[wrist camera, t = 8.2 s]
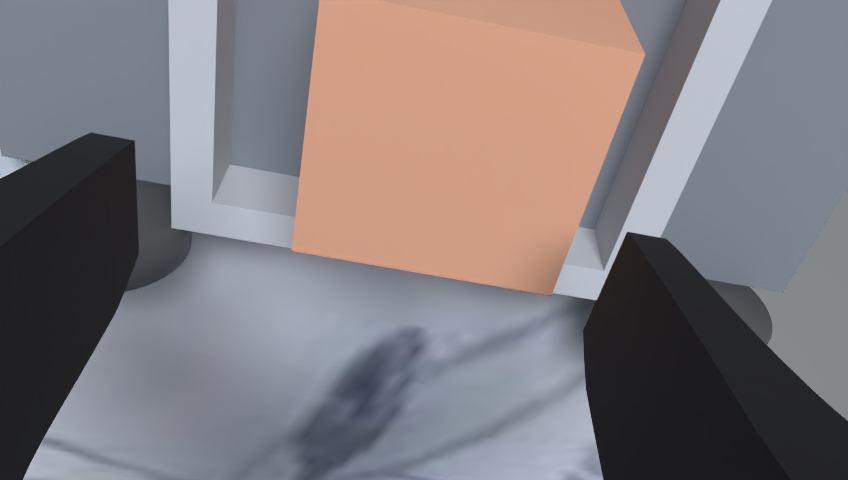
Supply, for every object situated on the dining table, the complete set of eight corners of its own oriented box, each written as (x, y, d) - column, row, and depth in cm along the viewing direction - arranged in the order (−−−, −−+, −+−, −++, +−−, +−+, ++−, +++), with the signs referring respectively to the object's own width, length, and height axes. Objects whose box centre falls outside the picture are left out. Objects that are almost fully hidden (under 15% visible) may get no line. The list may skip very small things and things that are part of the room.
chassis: (1077, -250, 15) (1265, -224, 12) (749, 300, 24) (798, 409, 20) (-75, -532, 13) (-267, -604, 10) (28, 175, 22) (-54, 272, 19)
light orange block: (591, -59, 16) (646, 54, 12) (528, 140, 19) (551, 295, 15) (362, -108, 16) (320, -12, 11) (334, 103, 19) (291, 251, 14)
